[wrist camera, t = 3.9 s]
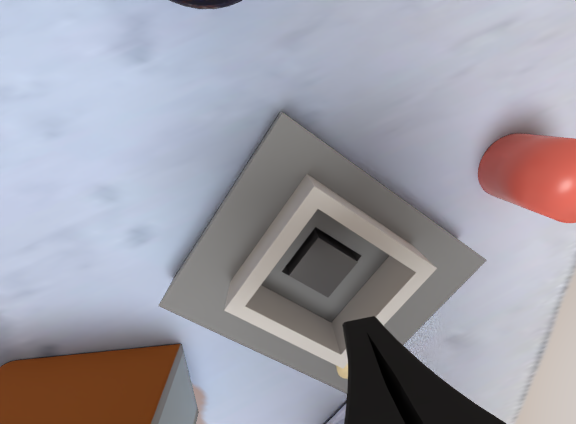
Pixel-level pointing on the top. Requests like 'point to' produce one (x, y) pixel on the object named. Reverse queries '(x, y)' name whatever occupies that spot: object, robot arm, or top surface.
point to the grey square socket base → (288, 239)
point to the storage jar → (206, 3)
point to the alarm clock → (100, 388)
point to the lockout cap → (533, 174)
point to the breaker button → (321, 262)
